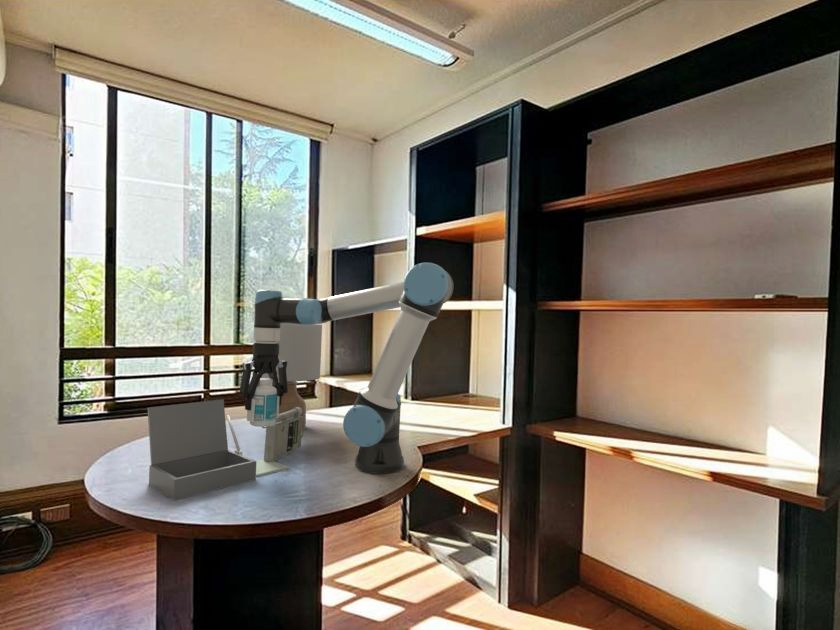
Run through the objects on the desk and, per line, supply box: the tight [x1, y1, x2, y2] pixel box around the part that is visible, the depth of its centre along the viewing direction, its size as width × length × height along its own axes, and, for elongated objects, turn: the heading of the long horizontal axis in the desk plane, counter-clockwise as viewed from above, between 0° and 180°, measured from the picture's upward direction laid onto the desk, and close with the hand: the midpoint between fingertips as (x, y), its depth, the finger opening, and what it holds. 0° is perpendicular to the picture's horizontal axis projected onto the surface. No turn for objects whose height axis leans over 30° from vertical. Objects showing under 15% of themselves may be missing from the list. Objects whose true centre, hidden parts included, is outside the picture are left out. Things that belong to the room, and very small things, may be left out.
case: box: [147, 398, 257, 501], centre depth 131 cm, size 19×23×20 cm
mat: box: [255, 458, 289, 478], centre depth 142 cm, size 11×11×1 cm
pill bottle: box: [249, 378, 277, 428], centre depth 142 cm, size 8×7×14 cm
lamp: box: [261, 323, 323, 430], centre depth 192 cm, size 24×24×42 cm
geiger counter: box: [261, 407, 304, 462], centre depth 159 cm, size 14×6×25 cm
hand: (262, 419), depth 142 cm, fingers closed on pill bottle, 7 cm apart
